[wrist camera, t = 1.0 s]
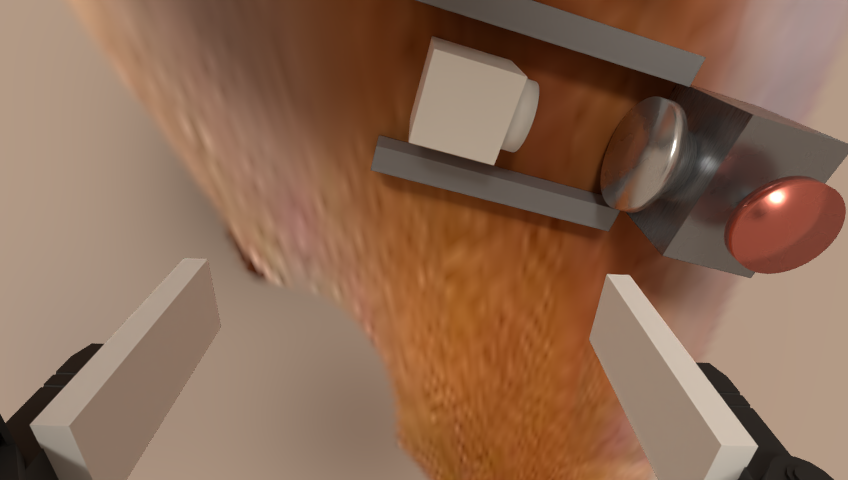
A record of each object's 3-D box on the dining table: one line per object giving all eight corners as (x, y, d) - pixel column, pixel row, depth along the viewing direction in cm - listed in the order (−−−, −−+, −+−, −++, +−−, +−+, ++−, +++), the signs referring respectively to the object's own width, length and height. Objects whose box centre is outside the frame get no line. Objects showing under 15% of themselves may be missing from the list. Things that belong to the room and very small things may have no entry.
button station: (642, 69, 34) (744, 117, 23) (759, 106, 35) (905, 167, 25) (582, 189, 39) (643, 274, 28) (687, 218, 40) (783, 309, 30)
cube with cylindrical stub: (432, 35, 33) (434, 48, 28) (530, 66, 34) (549, 83, 29) (410, 116, 36) (408, 142, 30) (501, 142, 37) (514, 170, 32)
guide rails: (419, -37, 30) (419, -37, 28) (687, 51, 33) (705, 57, 31) (373, 158, 37) (370, 170, 35) (598, 217, 40) (608, 231, 38)
